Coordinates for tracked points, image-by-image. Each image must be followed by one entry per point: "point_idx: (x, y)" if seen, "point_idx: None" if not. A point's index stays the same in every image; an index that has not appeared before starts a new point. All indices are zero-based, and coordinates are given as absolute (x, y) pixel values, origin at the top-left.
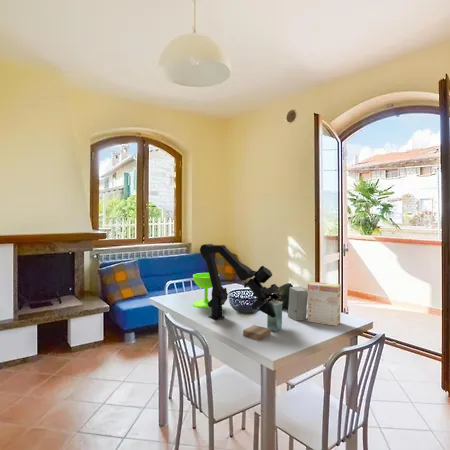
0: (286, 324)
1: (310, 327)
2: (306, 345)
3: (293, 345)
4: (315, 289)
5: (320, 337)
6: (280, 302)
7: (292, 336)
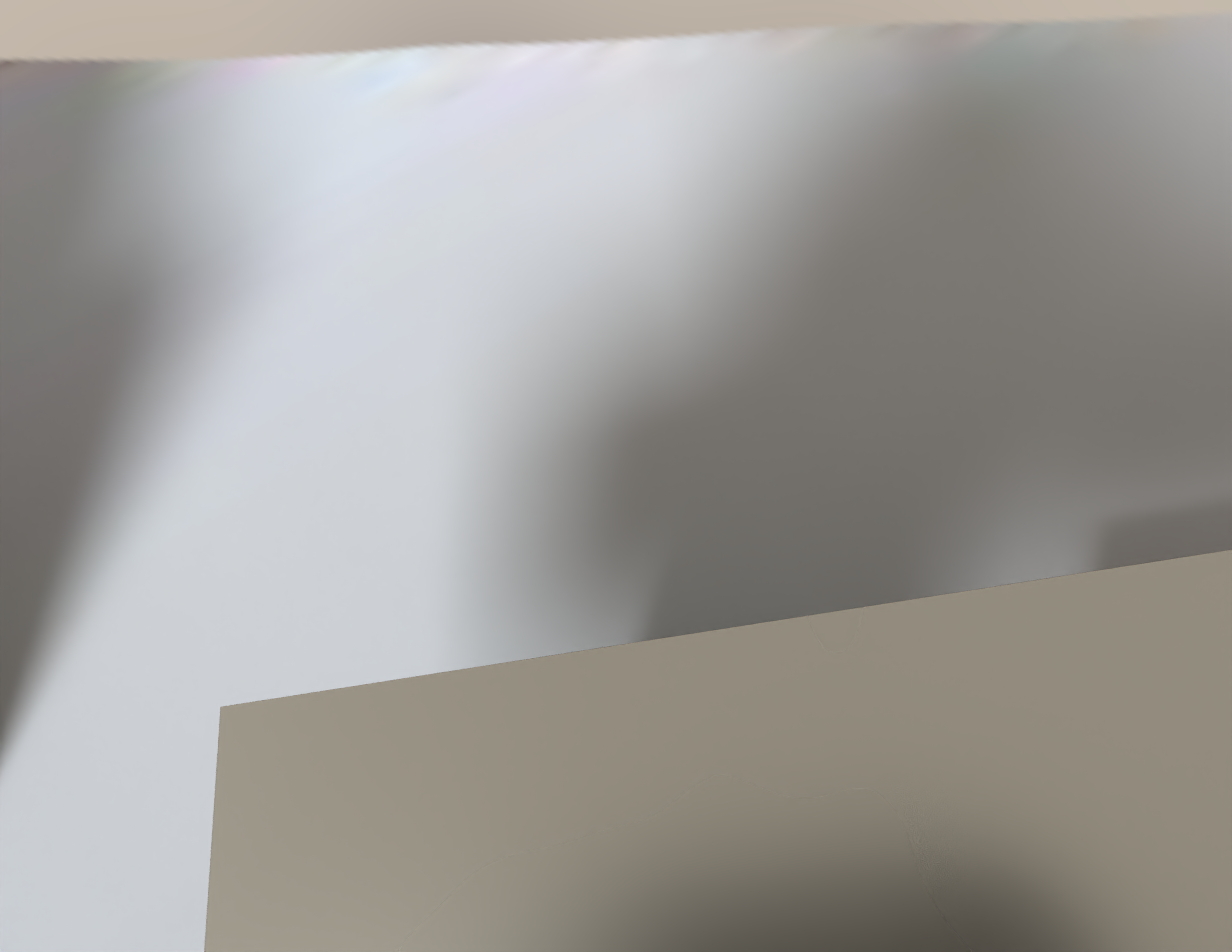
0: None
1: (186, 421)
2: (904, 53)
3: (1073, 137)
4: None
5: (498, 112)
6: (617, 649)
7: (784, 355)
